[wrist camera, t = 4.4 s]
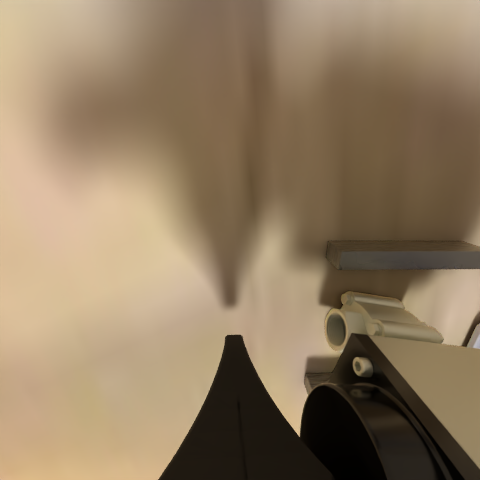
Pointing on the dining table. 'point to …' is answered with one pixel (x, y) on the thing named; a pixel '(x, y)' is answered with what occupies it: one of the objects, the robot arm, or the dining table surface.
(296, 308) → the dining table surface
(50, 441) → the dining table surface
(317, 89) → the dining table surface
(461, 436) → the pneumatic valve
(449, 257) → the guide rails
